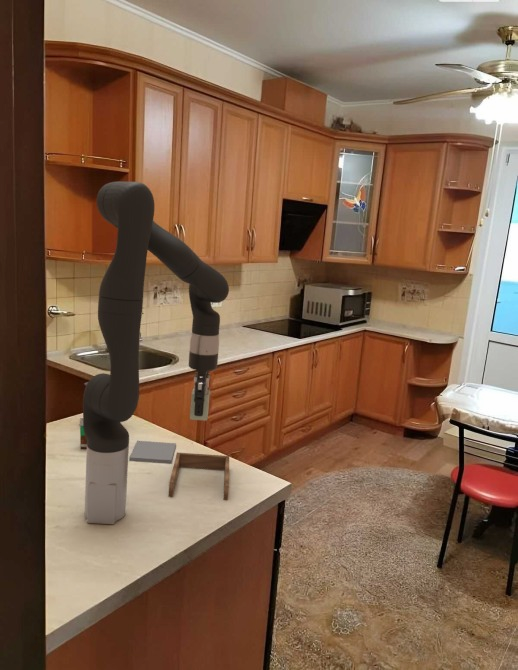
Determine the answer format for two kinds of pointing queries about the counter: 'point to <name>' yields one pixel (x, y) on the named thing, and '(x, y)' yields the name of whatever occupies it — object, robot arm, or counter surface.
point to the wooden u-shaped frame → (200, 467)
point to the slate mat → (153, 452)
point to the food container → (82, 436)
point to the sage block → (205, 408)
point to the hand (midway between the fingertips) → (199, 411)
